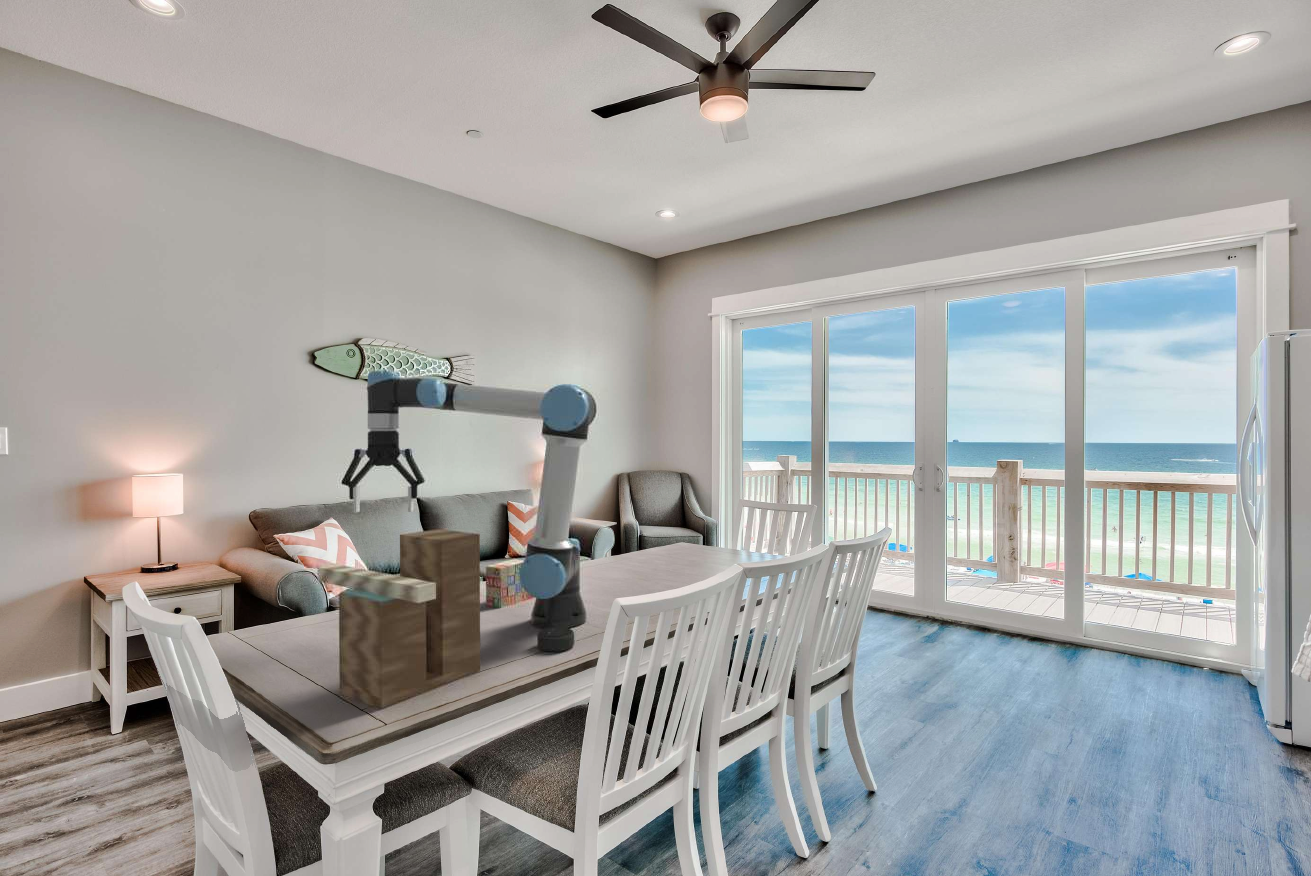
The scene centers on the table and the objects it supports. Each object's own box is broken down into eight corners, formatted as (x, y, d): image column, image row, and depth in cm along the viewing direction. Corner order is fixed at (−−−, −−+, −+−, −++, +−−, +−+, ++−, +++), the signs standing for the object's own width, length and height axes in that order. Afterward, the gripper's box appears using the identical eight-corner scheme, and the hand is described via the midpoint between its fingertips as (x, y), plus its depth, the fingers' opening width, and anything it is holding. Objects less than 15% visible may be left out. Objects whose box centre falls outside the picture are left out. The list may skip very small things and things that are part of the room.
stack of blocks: (533, 591, 217) (533, 554, 217) (548, 593, 214) (547, 555, 214) (485, 605, 199) (485, 565, 199) (500, 608, 195) (500, 567, 195)
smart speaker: (532, 645, 161) (532, 629, 161) (566, 639, 166) (566, 623, 166) (545, 656, 154) (545, 638, 154) (580, 649, 158) (580, 633, 158)
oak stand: (339, 693, 131) (338, 543, 131) (438, 658, 151) (437, 529, 151) (381, 709, 124) (380, 550, 124) (480, 670, 144) (479, 534, 144)
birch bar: (317, 581, 141) (317, 567, 141) (335, 577, 144) (335, 563, 144) (418, 603, 122) (417, 586, 122) (435, 598, 126) (435, 582, 126)
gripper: (435, 430, 176) (436, 509, 176) (338, 430, 173) (339, 510, 174) (429, 430, 169) (429, 512, 169) (327, 430, 166) (328, 514, 166)
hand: (383, 511), depth 171 cm, fingers open, 13 cm apart
